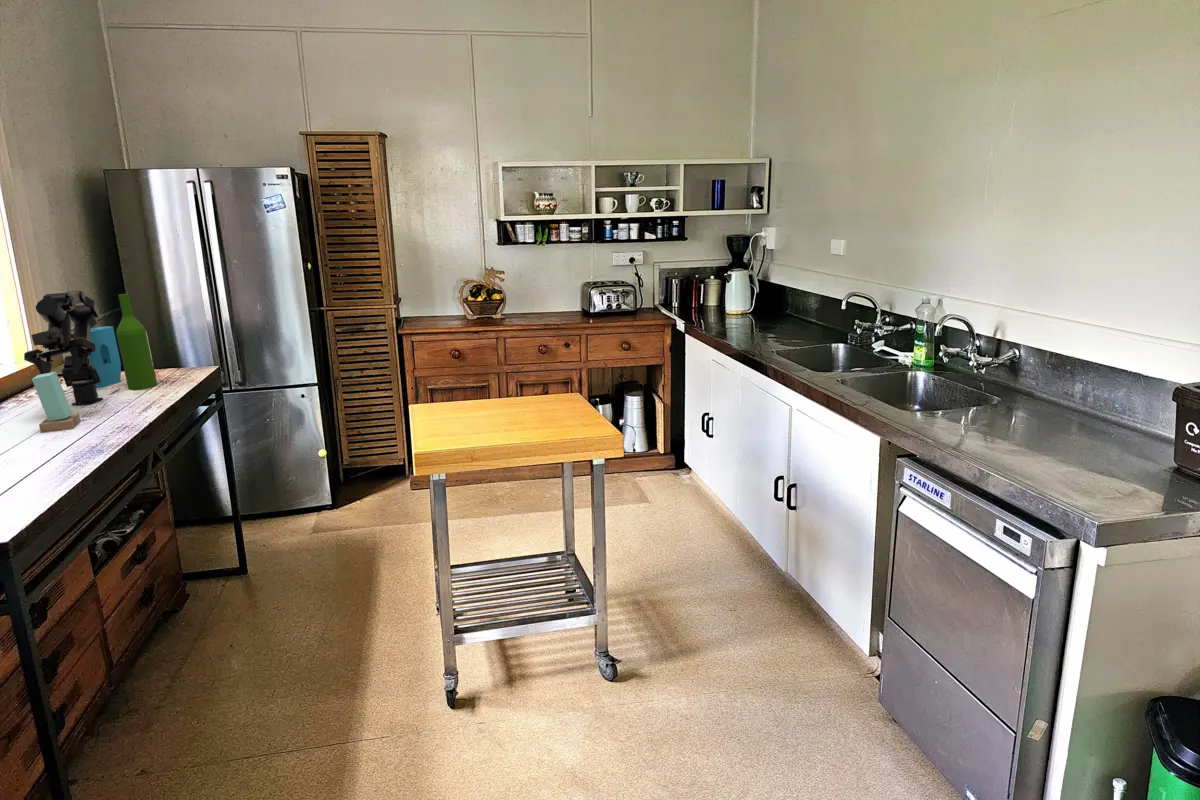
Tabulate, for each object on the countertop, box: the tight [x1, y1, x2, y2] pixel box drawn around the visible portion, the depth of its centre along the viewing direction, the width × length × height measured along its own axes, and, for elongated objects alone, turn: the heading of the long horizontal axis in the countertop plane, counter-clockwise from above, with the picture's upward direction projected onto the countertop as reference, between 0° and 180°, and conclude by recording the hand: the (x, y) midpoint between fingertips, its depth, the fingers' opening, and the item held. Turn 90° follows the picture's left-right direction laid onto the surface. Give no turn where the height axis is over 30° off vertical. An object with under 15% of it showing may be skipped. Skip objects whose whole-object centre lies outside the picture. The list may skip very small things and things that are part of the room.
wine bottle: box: [116, 293, 158, 391], centre depth 266 cm, size 9×9×32 cm
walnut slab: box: [38, 413, 82, 434], centre depth 224 cm, size 8×8×3 cm
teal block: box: [31, 371, 73, 422], centre depth 222 cm, size 5×5×13 cm
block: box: [89, 325, 122, 389], centre depth 274 cm, size 12×5×20 cm, turn 164°
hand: (60, 377), depth 230 cm, fingers open, 9 cm apart
